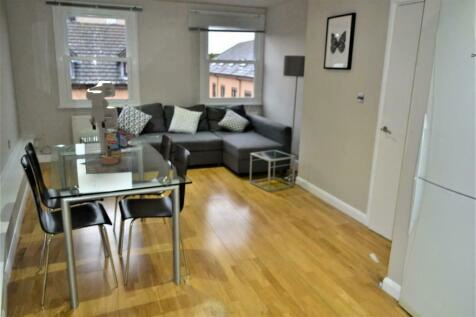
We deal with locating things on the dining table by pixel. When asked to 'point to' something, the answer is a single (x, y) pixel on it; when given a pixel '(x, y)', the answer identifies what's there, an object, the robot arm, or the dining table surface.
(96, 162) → the mat
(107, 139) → the blue food box
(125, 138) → the colourful crumpled piece
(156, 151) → the dining table surface
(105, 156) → the lid
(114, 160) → the bowl
